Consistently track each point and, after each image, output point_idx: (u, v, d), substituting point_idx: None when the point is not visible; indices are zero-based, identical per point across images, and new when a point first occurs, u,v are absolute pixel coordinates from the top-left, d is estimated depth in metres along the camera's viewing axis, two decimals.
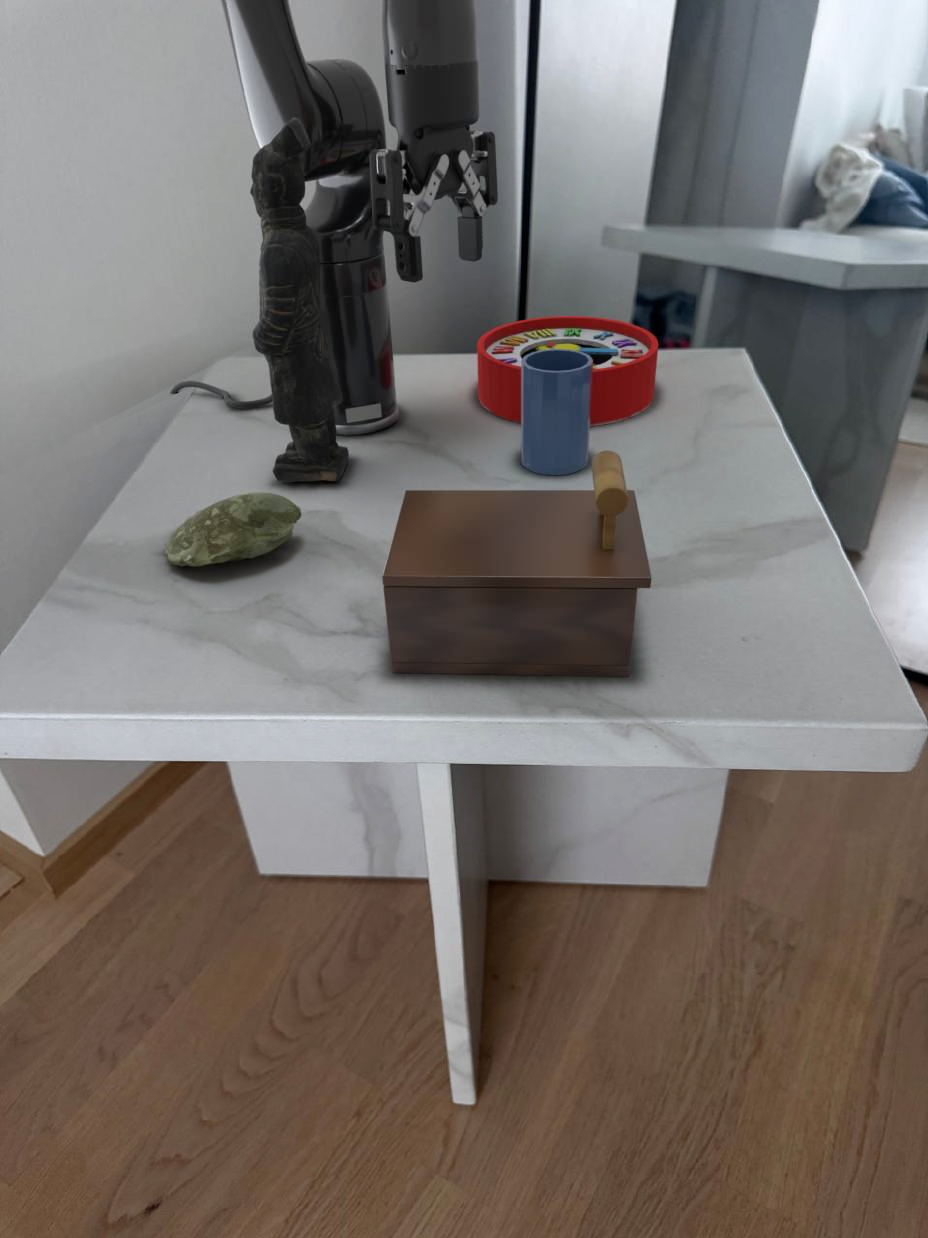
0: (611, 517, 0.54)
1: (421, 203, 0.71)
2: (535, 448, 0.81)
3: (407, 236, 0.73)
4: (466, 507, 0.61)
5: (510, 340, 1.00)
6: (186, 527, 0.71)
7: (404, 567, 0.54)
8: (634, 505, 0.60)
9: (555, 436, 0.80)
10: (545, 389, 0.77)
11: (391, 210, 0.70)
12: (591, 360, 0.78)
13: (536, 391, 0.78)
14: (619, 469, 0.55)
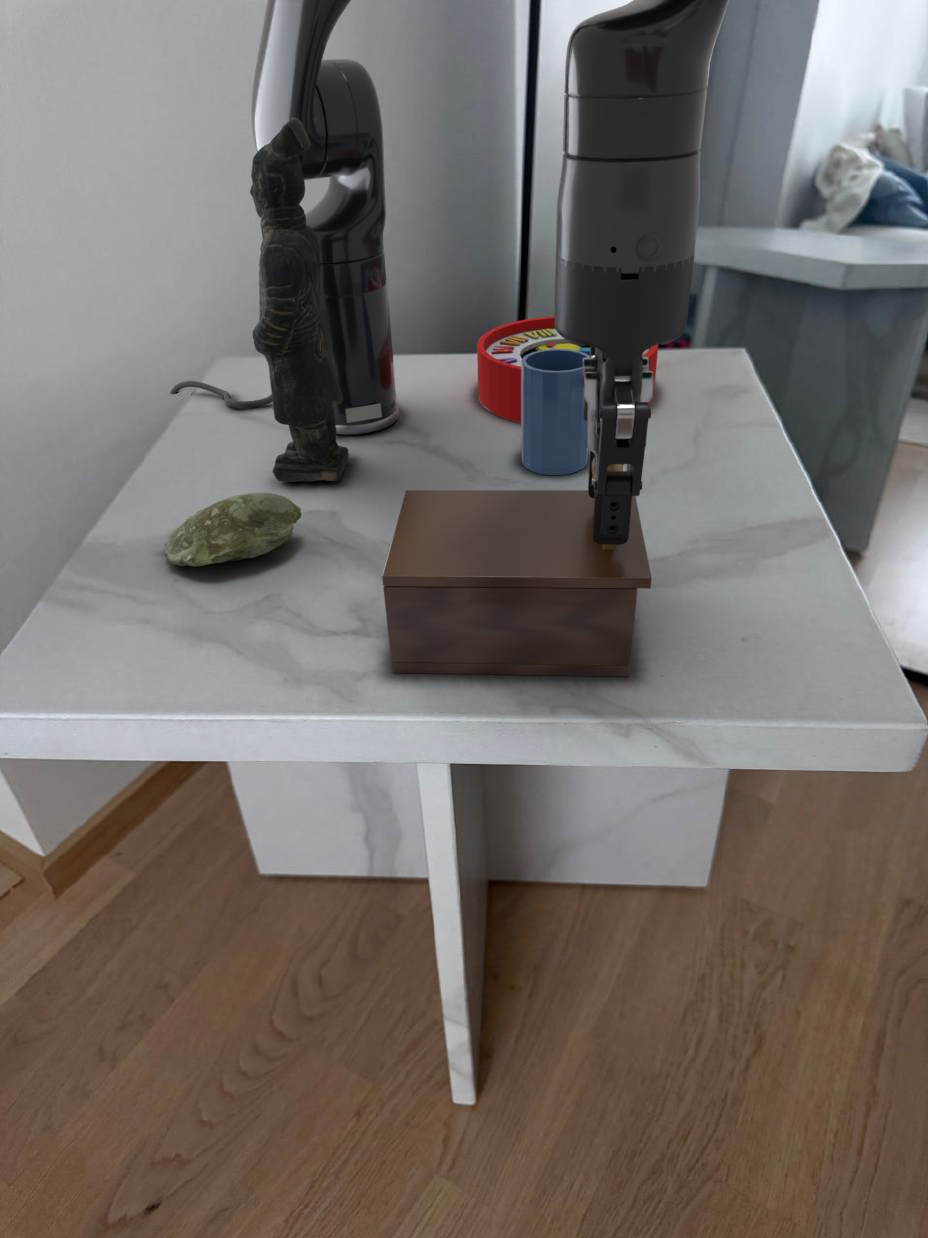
0: None
1: None
2: (535, 448, 0.81)
3: None
4: (466, 507, 0.61)
5: (510, 340, 1.00)
6: (186, 527, 0.71)
7: (404, 567, 0.54)
8: (634, 505, 0.60)
9: (555, 436, 0.80)
10: (545, 389, 0.77)
11: (637, 475, 0.48)
12: None
13: (536, 391, 0.78)
14: (619, 469, 0.55)
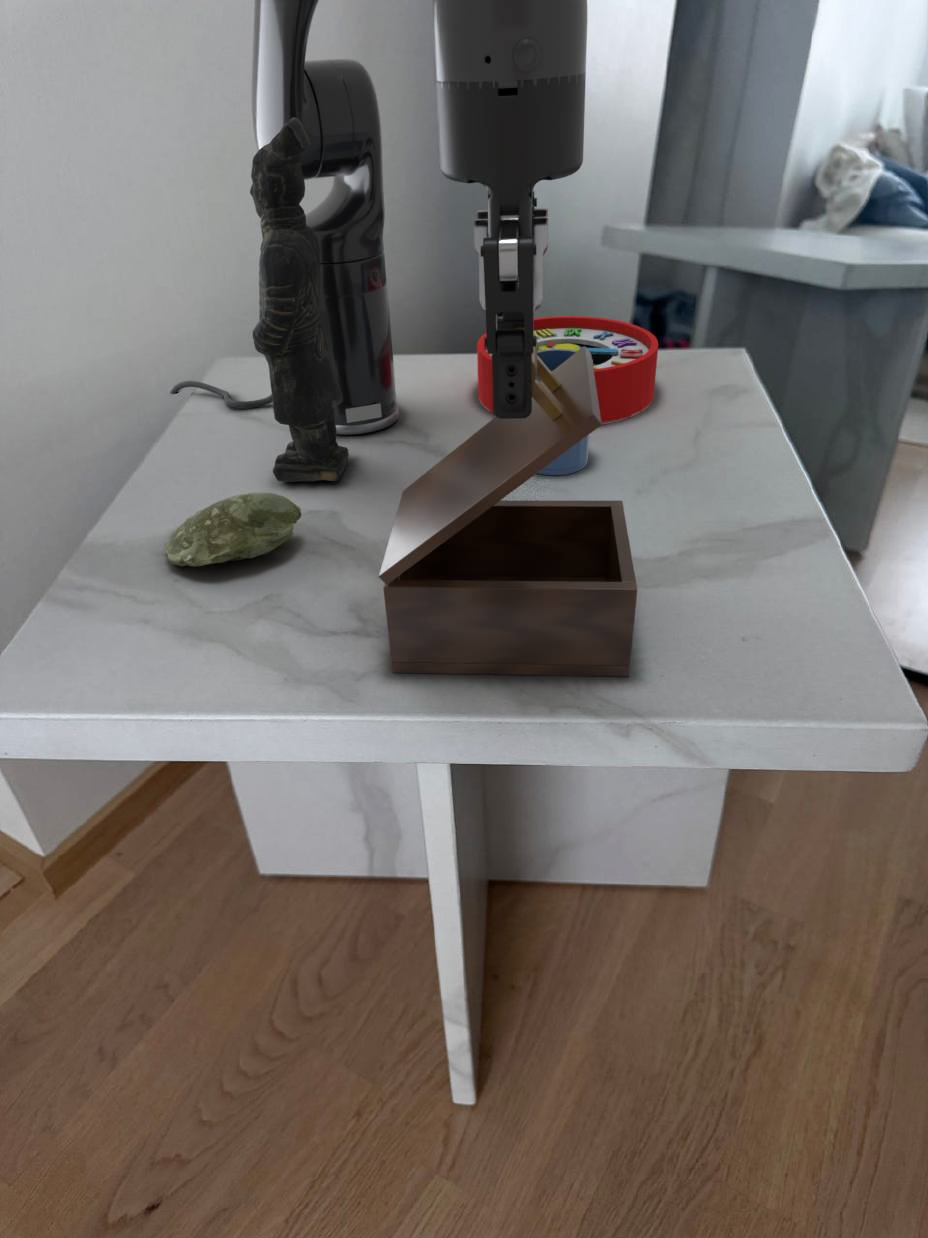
0: (533, 387, 0.49)
1: (539, 303, 0.46)
2: None
3: (524, 355, 0.47)
4: (446, 469, 0.59)
5: None
6: (186, 527, 0.71)
7: (395, 556, 0.54)
8: (583, 359, 0.54)
9: None
10: None
11: (528, 326, 0.44)
12: None
13: None
14: None
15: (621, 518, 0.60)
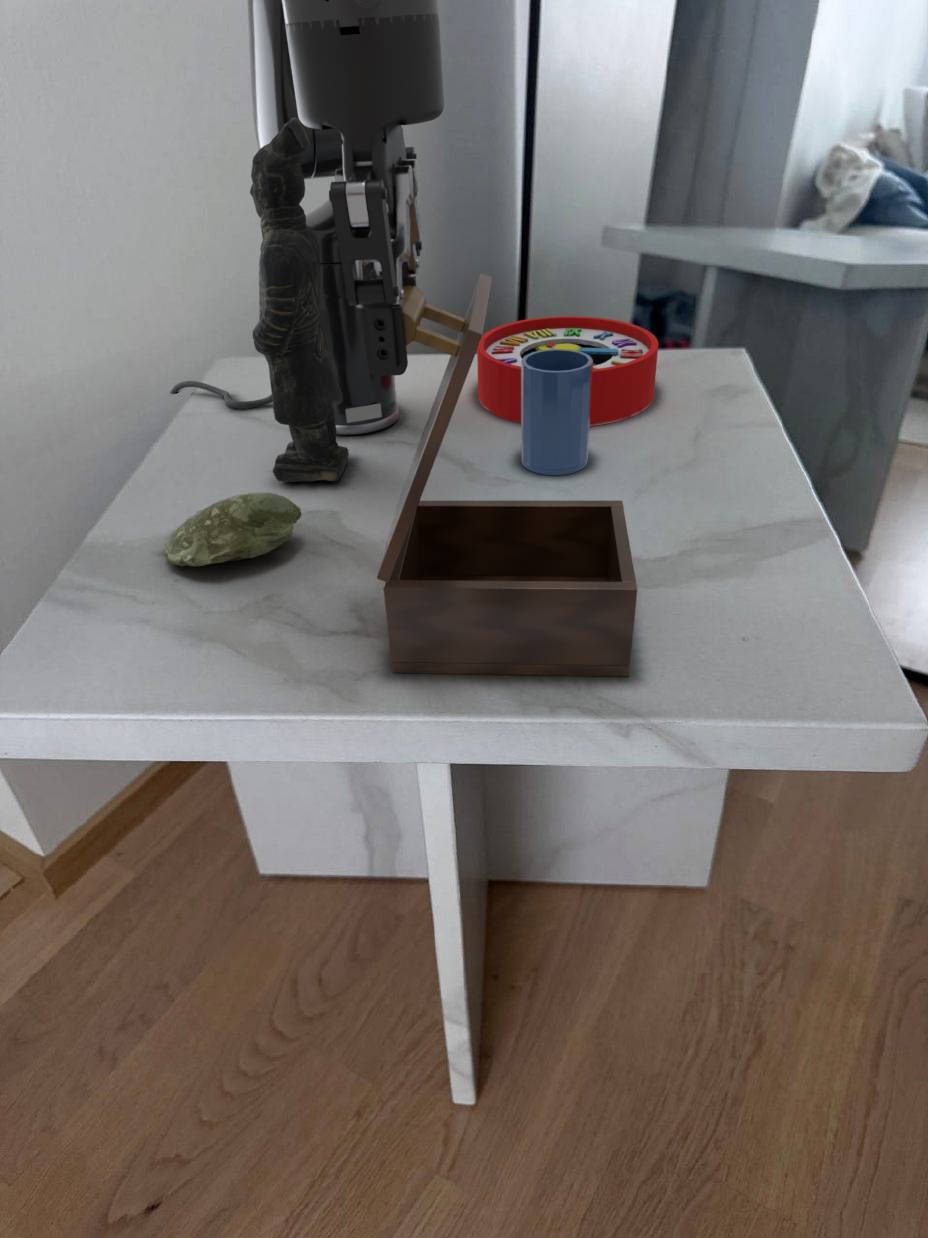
0: (418, 334, 0.48)
1: (404, 254, 0.45)
2: (535, 448, 0.81)
3: (392, 308, 0.46)
4: (416, 453, 0.59)
5: (510, 340, 1.00)
6: (186, 527, 0.71)
7: (384, 553, 0.54)
8: (477, 285, 0.52)
9: (555, 436, 0.80)
10: (545, 389, 0.77)
11: (386, 275, 0.43)
12: (591, 360, 0.78)
13: (536, 391, 0.78)
14: None
15: (621, 518, 0.60)
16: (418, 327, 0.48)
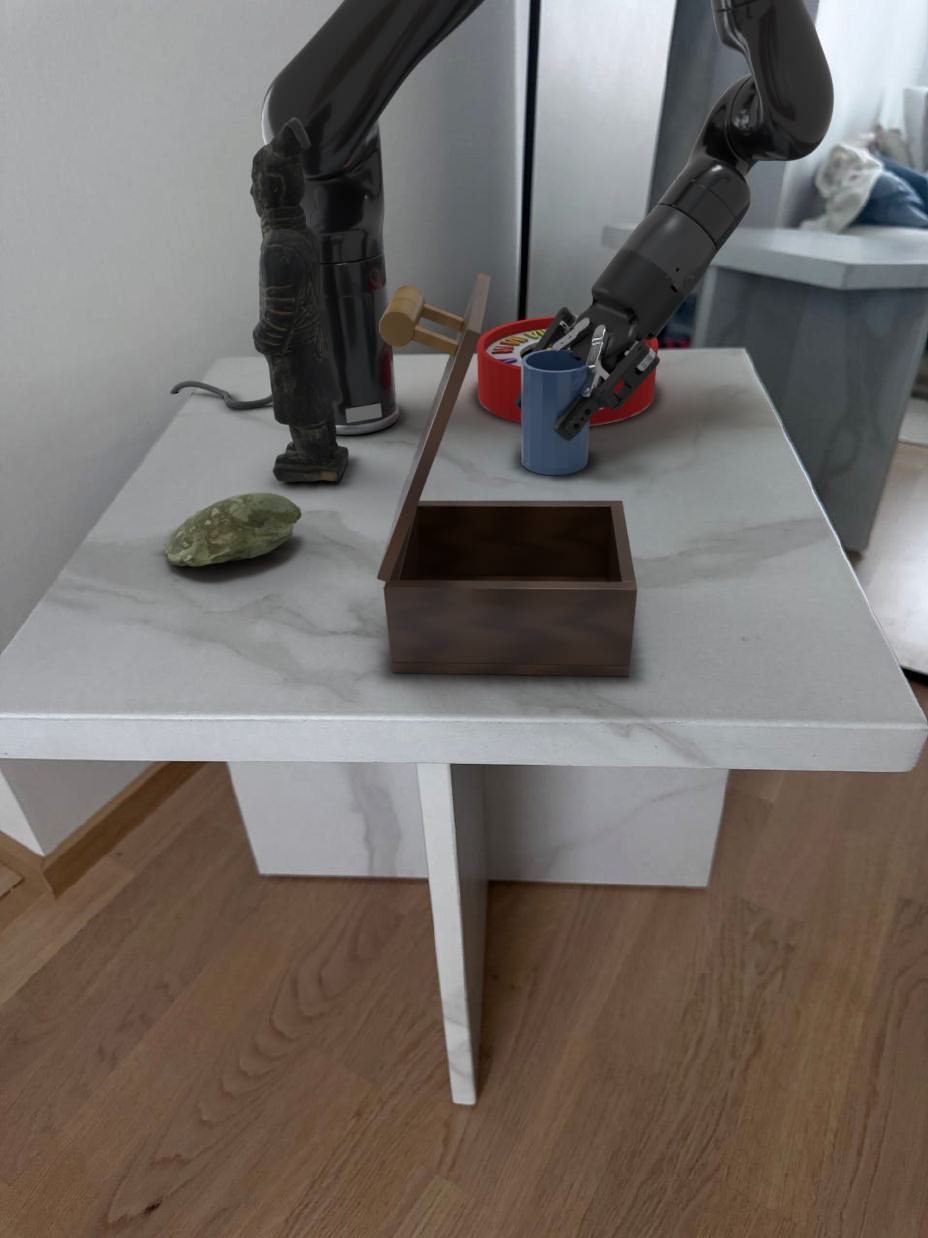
0: (417, 334, 0.48)
1: None
2: (535, 448, 0.81)
3: None
4: (416, 453, 0.59)
5: (510, 340, 1.00)
6: (186, 527, 0.71)
7: (384, 553, 0.54)
8: (475, 285, 0.52)
9: (555, 436, 0.80)
10: (545, 389, 0.77)
11: (627, 396, 0.76)
12: None
13: (536, 391, 0.78)
14: (394, 298, 0.50)
15: (621, 518, 0.60)
16: (416, 327, 0.48)
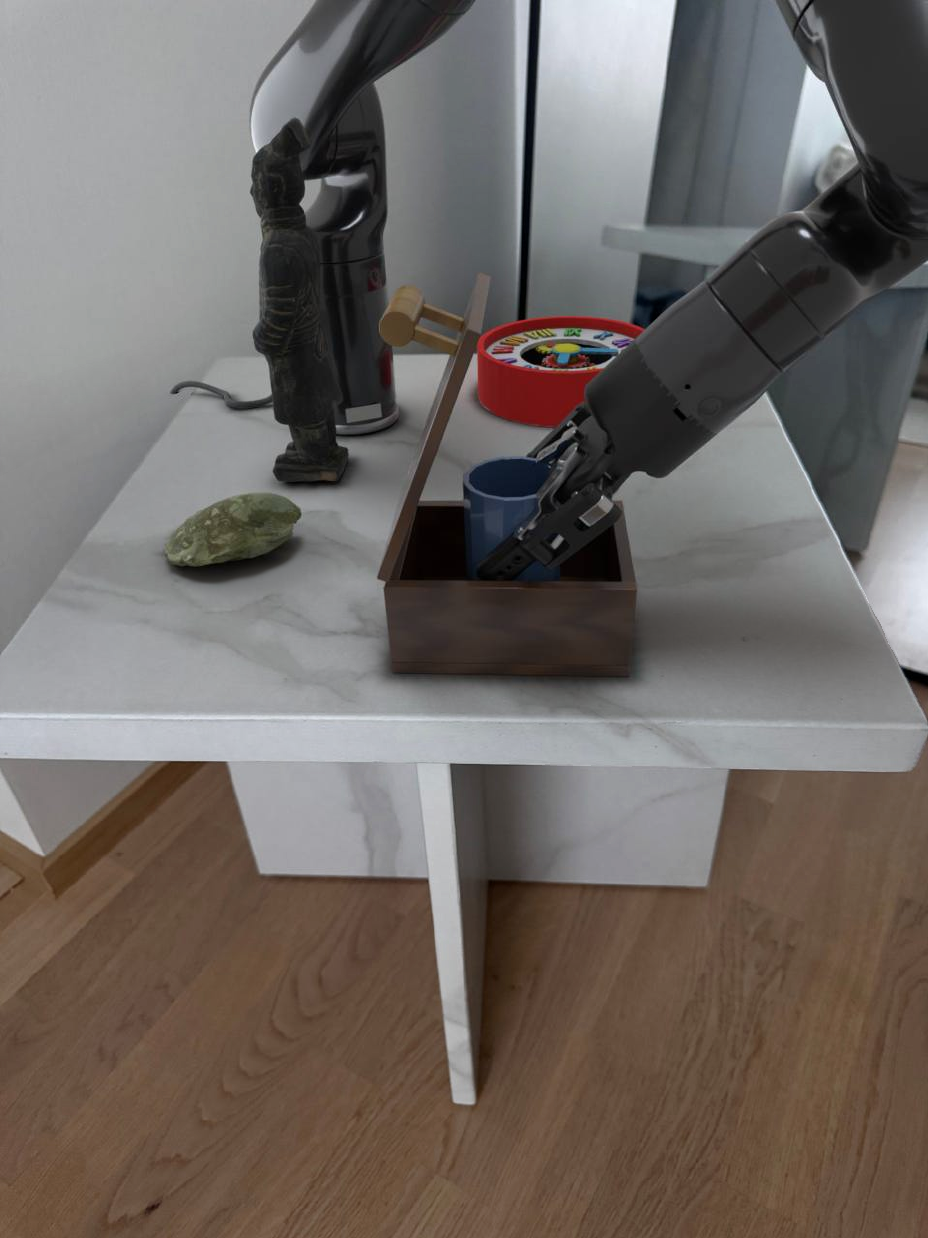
0: (417, 334, 0.48)
1: None
2: None
3: (535, 558, 0.54)
4: (416, 453, 0.59)
5: (510, 340, 1.00)
6: (186, 527, 0.71)
7: (384, 553, 0.54)
8: (475, 285, 0.52)
9: None
10: (473, 514, 0.55)
11: (564, 555, 0.51)
12: None
13: (467, 513, 0.56)
14: (394, 298, 0.50)
15: (621, 518, 0.60)
16: (416, 327, 0.48)
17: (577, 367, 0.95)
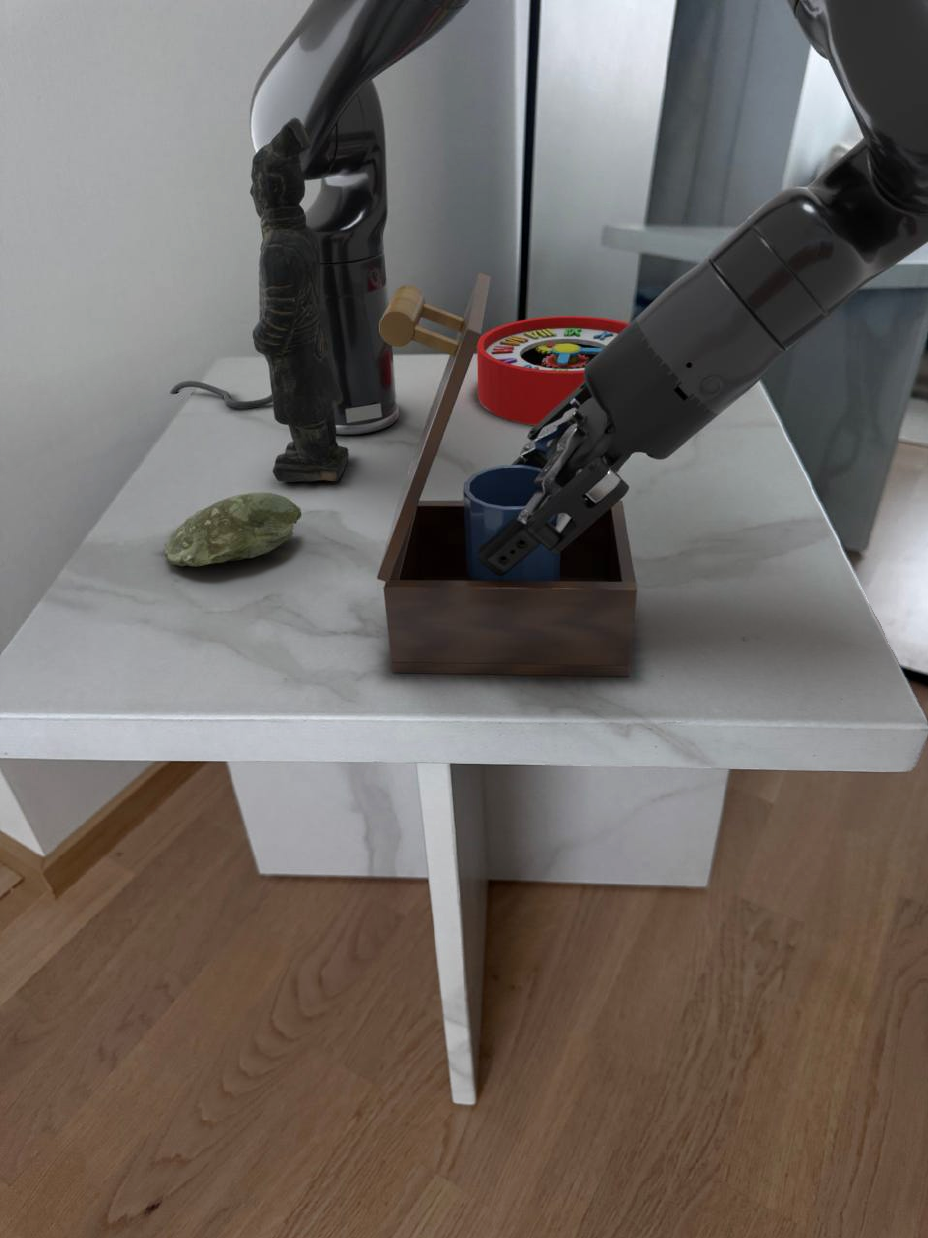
0: (417, 334, 0.48)
1: None
2: None
3: (539, 542, 0.52)
4: (416, 453, 0.59)
5: (510, 340, 1.00)
6: (186, 527, 0.71)
7: (384, 553, 0.54)
8: (475, 285, 0.52)
9: None
10: (473, 523, 0.56)
11: (571, 536, 0.50)
12: None
13: (467, 521, 0.56)
14: (394, 298, 0.50)
15: (621, 518, 0.60)
16: (416, 327, 0.48)
17: (577, 367, 0.95)
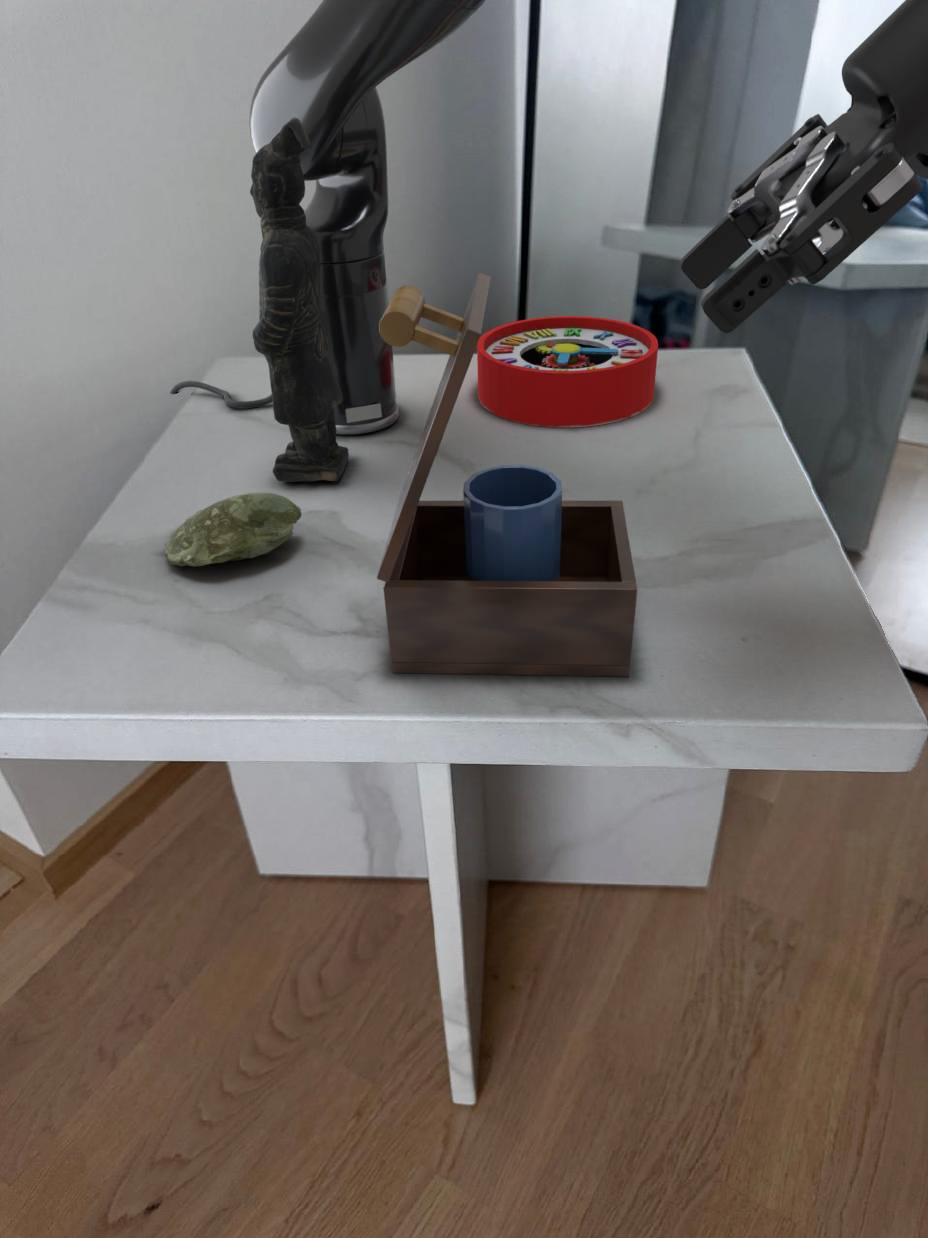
0: (417, 334, 0.48)
1: None
2: None
3: None
4: (416, 453, 0.59)
5: (510, 340, 1.00)
6: (186, 527, 0.71)
7: (384, 553, 0.54)
8: (475, 285, 0.52)
9: None
10: (473, 523, 0.56)
11: (841, 254, 0.40)
12: (552, 498, 0.55)
13: (467, 521, 0.56)
14: (394, 298, 0.50)
15: (621, 518, 0.60)
16: (416, 327, 0.48)
17: (577, 367, 0.95)
